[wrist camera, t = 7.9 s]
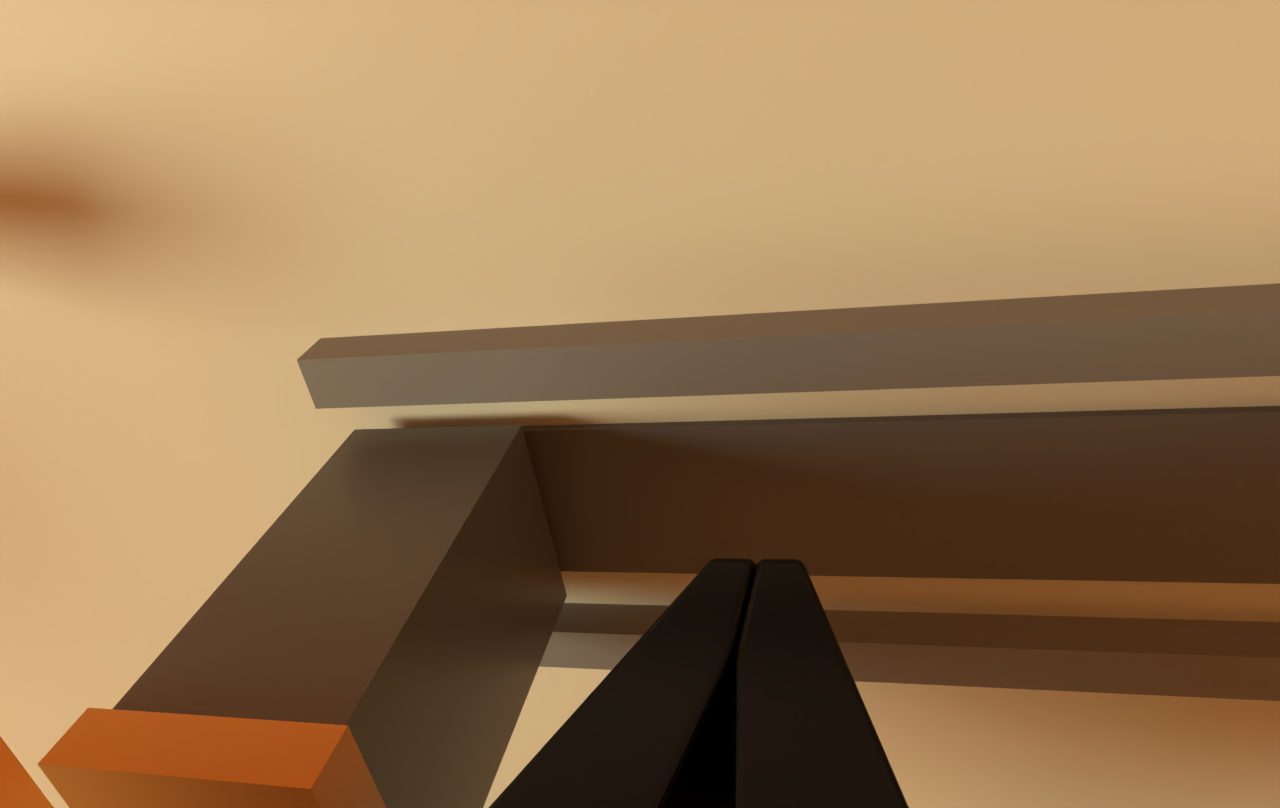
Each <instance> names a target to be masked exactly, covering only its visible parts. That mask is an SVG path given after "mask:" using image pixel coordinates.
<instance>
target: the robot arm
mask: <svg viewBox="0 0 1280 808" xmlns="http://www.w3.org/2000/svg"><path fill="white" fill-rule="evenodd" d="M489 808H909V807H908V804H907V802H906V800H905V797H904V795H903V793H902V790H901V788H900V786H899V783H898V781H897V779H896V776H895V774H894V772H893V769H892V767H891V765H890V763H889V760H888V758H887V756H886V753H885V751H884V749H883V746H882V744H881V742H880V739H879V737H878V735H877V732H876V730H875V728H874V725H873V723H872V721H871V718H870V716H869V714H868V711H867V709H866V707H865V704H864V702H863V700H862V697H861V695H860V693H859V690H858V688H857V686H856V683H855V681H854V679H853V676H852V674H851V672H850V669H849V667H848V665H847V662H846V660H845V658H844V655H843V653H842V651H841V648H840V646H839V644H838V641H837V639H836V637H835V634H834V632H833V630H832V627H831V625H830V623H829V620H828V618H827V616H826V614H825V611H824V609H823V607H822V604H821V602H820V600H819V597H818V595H817V593H816V590H815V588H814V586H813V583H812V581H811V579H810V576H809V574H808V572H807V569H806V567H805V565H804V564H803V563H802V562H801V561H800V560H797V559H762V560H761V561H759V562H758V564H757V565H756V563H755V562H754V561H753V560H751V559H734V558H717V559H713V560H711V561H710V562H708V563H707V564H706V565H705V567H704V568H703V569H702V570H701V571H700V572H699V573H698V574H697V575H696V577H695V578H694V579H693V580H692V581H691V582H690V583H689V584H688V585H687V587H686V588H685V589H684V590H683V591H682V592H681V593H680V594H679V596H678V597H677V598H676V599H675V600H674V601H673V602H672V603H671V604H670V606H669V607H668V608H667V609H666V610H665V611H664V612H663V613H662V615H661V616H660V617H659V618H658V619H657V620H656V621H655V622H654V623H653V625H652V626H651V627H650V628H649V629H648V630H647V631H646V632H645V634H644V635H643V636H642V637H641V638H640V639H639V640H638V641H637V642H636V644H635V645H634V646H633V647H632V648H631V649H630V650H629V651H628V652H627V654H626V655H625V656H624V657H623V658H622V659H621V660H620V661H619V663H618V664H617V665H616V666H615V667H614V668H613V669H612V670H611V671H610V673H609V674H608V675H607V676H606V677H605V678H604V679H603V680H602V682H601V683H600V684H599V685H598V686H597V687H596V688H595V689H594V690H593V692H592V693H591V694H590V695H589V696H588V697H587V698H586V699H585V701H584V702H583V703H582V704H581V705H580V706H579V707H578V708H577V709H576V711H575V712H574V713H573V714H572V715H571V716H570V717H569V718H568V719H567V721H566V722H565V723H564V724H563V725H562V726H561V727H560V728H559V730H558V731H557V732H556V733H555V734H554V735H553V736H552V737H551V738H550V740H549V741H548V742H547V743H546V744H545V745H544V746H543V747H542V749H541V750H540V751H539V752H538V753H537V754H536V755H535V756H534V757H533V759H532V760H531V761H530V762H529V763H528V764H527V765H526V766H525V768H524V769H523V770H522V771H521V772H520V773H519V774H518V775H517V776H516V778H515V779H514V780H513V781H512V782H511V783H510V784H509V785H508V787H507V788H506V789H505V790H504V791H503V792H502V793H501V794H500V795H499V797H498V798H497V799H496V800H495V801H494V802H493V803H492V804H491V805H490V807H489Z"/></svg>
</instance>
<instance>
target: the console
mask: <svg viewBox="0 0 1280 808" xmlns="http://www.w3.org/2000/svg"><path fill="white" fill-rule="evenodd" d="M500 425H522V428H523V432H524V435H525V439H526V443H527V447H528V450H529V454H530V458H531V462H532V466H533V469H534V473H535V477H536V481H537V484H538V488H539V492H540V496H541V499H542V503H543V507H544V511H545V515H546V518H547V522H548V526H549V530H550V533H551V537H552V541H553V545H554V549H555V552H556V556H557V560H558V564H559V567H560V571H561V575H562V579H563V582H564V586H565V590H566V594H567V597H566V599H565V602H564V604H563V607H562V609H561V612H560V614H559V617H558V620H557V622H556V625H555V627H554V630H553V632H552V635H551V637H550V640H549V642H548V645H547V647H546V650H545V652H544V655H543V657H542V660H541V663H540V665H539V668H538V670H537V673H536V675H535V678H534V680H533V683H532V685H531V688H530V690H529V693H528V695H527V698H526V700H525V703H524V705H523V708H522V711H521V713H520V716H519V718H518V721H517V723H516V726H515V728H514V731H513V733H512V736H511V738H510V741H509V743H508V746H507V748H506V751H505V754H504V756H503V759H502V761H501V764H500V766H499V769H498V771H497V774H496V776H495V779H494V781H493V784H492V786H491V789H490V791H489V794H488V796H487V799H486V802H485V804H484V807H483V808H489V807H490V805H491V804H492V803H493V802H494V801H495V800H496V799H497V798H498V797H499V795H500V794H501V793H502V792H503V791H504V790H505V789H506V788H507V787H508V785H509V784H510V783H511V782H512V781H513V780H514V779H515V778H516V776H517V775H518V774H519V773H520V772H521V771H522V770H523V769H524V768H525V766H526V765H527V764H528V763H529V762H530V761H531V760H532V759H533V757H534V756H535V755H536V754H537V753H538V752H539V751H540V750H541V749H542V747H543V746H544V745H545V744H546V743H547V742H548V741H549V740H550V738H551V737H552V736H553V735H554V734H555V733H556V732H557V731H558V730H559V728H560V727H561V726H562V725H563V724H564V723H565V722H566V721H567V719H568V718H569V717H570V716H571V715H572V714H573V713H574V712H575V711H576V709H577V708H578V707H579V706H580V705H581V704H582V703H583V702H584V701H585V699H586V698H587V697H588V696H589V695H590V694H591V693H592V692H593V690H594V689H595V688H596V687H597V686H598V685H599V684H600V683H601V682H602V680H603V679H604V678H605V677H606V676H607V675H608V674H609V673H610V671H611V670H612V669H613V668H614V667H615V666H616V665H617V664H618V663H619V661H620V660H621V659H622V658H623V657H624V656H625V655H626V654H627V652H628V651H629V650H630V649H631V648H632V647H633V646H634V645H635V644H636V642H637V641H638V640H639V639H640V638H641V637H642V636H643V635H644V634H645V632H646V631H647V630H648V629H649V628H650V627H651V626H652V625H653V623H654V622H655V621H656V620H657V619H658V618H659V617H660V616H661V615H662V613H663V612H664V611H665V610H666V609H667V608H668V607H669V606H670V604H671V603H672V602H673V601H674V600H675V599H676V598H677V597H678V596H679V594H680V593H681V592H682V591H683V590H684V589H685V588H686V587H687V585H688V584H689V583H690V582H691V581H692V580H693V579H694V578H695V577H696V575H697V574H698V573H699V572H700V571H701V570H702V569H703V568H704V567H705V565H706V564H707V563H708V562H710V561H711V560H713V559H717V558H734V559H751V560H753V561H754V562H755V563H756V565H757V564H758V562H759V561H761V560H762V559H797V560H800V561H801V562H802V563H803V564H804V565H805V567H806V569H807V572H808V574H809V576H810V579H811V581H812V583H813V586H814V588H815V590H816V593H817V595H818V597H819V600H820V602H821V604H822V607H823V609H824V611H825V614H826V616H827V618H828V620H829V623H830V625H831V627H832V630H833V632H834V634H835V637H836V639H837V641H838V644H839V646H840V648H841V651H842V653H843V655H844V658H845V660H846V662H847V665H848V667H849V669H850V672H851V674H852V676H853V679H854V681H855V683H856V686H857V688H858V690H859V693H860V695H861V697H862V700H863V702H864V704H865V707H866V709H867V711H868V714H869V716H870V718H871V721H872V723H873V725H874V728H875V730H876V732H877V735H878V737H879V739H880V742H881V744H882V746H883V749H884V751H885V753H886V756H887V758H888V760H889V763H890V765H891V767H892V769H893V772H894V774H895V776H896V779H897V781H898V783H899V786H900V788H901V790H902V793H903V795H904V797H905V800H906V802H907V804H908V807H909V808H1280V0H0V736H1V737H2V739H3V740H4V742H5V743H6V744H7V746H8V747H9V748H10V750H11V751H12V752H13V754H14V755H15V756H16V758H17V759H18V760H19V762H20V763H21V764H22V766H23V767H24V768H25V770H26V771H27V772H28V774H29V775H30V776H31V778H32V779H33V780H34V782H35V783H36V784H37V786H38V787H39V788H40V790H41V791H42V792H43V794H44V795H45V796H46V798H47V799H48V800H49V802H50V803H51V804H52V806H53V807H54V808H69V807H68V805H67V804H66V803H65V801H64V800H63V798H62V797H61V796H60V794H59V793H58V792H57V790H56V789H55V788H54V786H53V785H52V783H51V782H50V781H49V779H48V778H47V777H46V775H45V774H44V773H43V771H42V770H41V769H40V767H39V766H38V763H39V762H40V761H41V759H42V758H43V757H44V756H45V755H46V754H47V753H48V752H49V751H50V749H51V748H52V747H53V746H54V745H55V744H56V743H57V742H58V741H59V739H60V738H61V737H62V736H63V735H64V734H65V733H66V732H67V730H68V729H69V728H70V727H71V726H72V725H73V724H74V723H75V722H76V720H77V719H78V718H79V717H80V716H81V715H82V714H83V713H84V712H85V710H86V709H87V708H102V709H113V708H114V706H115V705H116V704H117V703H118V702H119V701H120V700H121V698H122V697H123V696H124V695H125V694H126V693H127V691H128V690H129V689H130V688H131V687H132V686H133V685H134V683H135V682H136V681H137V680H138V679H139V678H140V676H141V675H142V674H143V673H144V672H145V671H146V670H147V668H148V667H149V666H150V665H151V664H152V663H153V661H154V660H155V659H156V658H157V657H158V656H159V655H160V653H161V652H162V651H163V650H164V649H165V648H166V647H167V645H168V644H169V643H170V642H171V641H172V640H173V638H174V637H175V636H176V635H177V634H178V633H179V632H180V630H181V629H182V628H183V627H184V626H185V625H186V623H187V622H188V621H189V620H190V619H191V618H192V617H193V615H194V614H195V613H196V612H197V611H198V610H199V608H200V607H201V606H202V605H203V604H204V603H205V602H206V600H207V599H208V598H209V597H210V596H211V595H212V593H213V592H214V591H215V590H216V589H217V588H218V587H219V585H220V584H221V583H222V582H223V581H224V580H225V578H226V577H227V576H228V575H229V574H230V573H231V572H232V570H233V569H234V568H235V567H236V566H237V565H238V563H239V562H240V561H241V560H242V559H243V558H244V557H245V555H246V554H247V553H248V552H249V551H250V550H251V548H252V547H253V546H254V545H255V544H256V543H257V542H258V540H259V539H260V538H261V537H262V536H263V535H264V533H265V532H266V531H267V530H268V529H269V528H270V527H271V525H272V524H273V523H274V522H275V521H276V520H277V518H278V517H279V516H280V515H281V514H282V513H283V512H284V510H285V509H286V508H287V507H288V506H289V505H290V503H291V502H292V501H293V500H294V499H295V498H296V497H297V495H298V494H299V493H300V492H301V491H302V490H303V488H304V487H305V486H306V485H307V484H308V483H309V482H310V480H311V479H312V478H313V477H314V476H315V475H316V473H317V472H318V471H319V470H320V469H321V468H322V467H323V465H324V464H325V463H326V462H327V461H328V460H329V458H330V457H331V456H332V455H333V454H334V453H335V452H336V450H337V449H338V448H339V447H340V446H341V445H342V443H343V442H344V441H345V440H346V439H347V438H348V437H349V435H350V434H351V433H352V432H353V431H354V430H355V429H390V428H427V427H464V426H500Z"/></svg>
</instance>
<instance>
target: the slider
mask: <svg viewBox="0 0 1280 808" xmlns="http://www.w3.org/2000/svg"><path fill="white" fill-rule="evenodd" d="M566 597H567V594H566V590H565V586H564V582H563V579H562V575H561V571H560V567H559V564H558V560H557V556H556V552H555V549H554V545H553V541H552V537H551V533H550V530H549V526H548V522H547V518H546V515H545V511H544V507H543V503H542V499H541V496H540V492H539V488H538V484H537V481H536V477H535V473H534V469H533V466H532V462H531V458H530V454H529V450H528V447H527V443H526V439H525V435H524V432H523V428H522V425H500V426H464V427H427V428H390V429H355V430H354V431H353V432H352V433H351V434H350V435H349V437H348V438H347V439H346V440H345V441H344V442H343V443H342V445H341V446H340V447H339V448H338V449H337V450H336V452H335V453H334V454H333V455H332V456H331V457H330V458H329V460H328V461H327V462H326V463H325V464H324V465H323V467H322V468H321V469H320V470H319V471H318V472H317V473H316V475H315V476H314V477H313V478H312V479H311V480H310V482H309V483H308V484H307V485H306V486H305V487H304V488H303V490H302V491H301V492H300V493H299V494H298V495H297V497H296V498H295V499H294V500H293V501H292V502H291V503H290V505H289V506H288V507H287V508H286V509H285V510H284V512H283V513H282V514H281V515H280V516H279V517H278V518H277V520H276V521H275V522H274V523H273V524H272V525H271V527H270V528H269V529H268V530H267V531H266V532H265V533H264V535H263V536H262V537H261V538H260V539H259V540H258V542H257V543H256V544H255V545H254V546H253V547H252V548H251V550H250V551H249V552H248V553H247V554H246V555H245V557H244V558H243V559H242V560H241V561H240V562H239V563H238V565H237V566H236V567H235V568H234V569H233V570H232V572H231V573H230V574H229V575H228V576H227V577H226V578H225V580H224V581H223V582H222V583H221V584H220V585H219V587H218V588H217V589H216V590H215V591H214V592H213V593H212V595H211V596H210V597H209V598H208V599H207V600H206V602H205V603H204V604H203V605H202V606H201V607H200V608H199V610H198V611H197V612H196V613H195V614H194V615H193V617H192V618H191V619H190V620H189V621H188V622H187V623H186V625H185V626H184V627H183V628H182V629H181V630H180V632H179V633H178V634H177V635H176V636H175V637H174V638H173V640H172V641H171V642H170V643H169V644H168V645H167V647H166V648H165V649H164V650H163V651H162V652H161V653H160V655H159V656H158V657H157V658H156V659H155V660H154V661H153V663H152V664H151V665H150V666H149V667H148V668H147V670H146V671H145V672H144V673H143V674H142V675H141V676H140V678H139V679H138V680H137V681H136V682H135V683H134V685H133V686H132V687H131V688H130V689H129V690H128V691H127V693H126V694H125V695H124V696H123V697H122V698H121V700H120V701H119V702H118V703H117V704H116V705H115V706H114V708H113V709H102V708H87V709H86V710H85V712H84V713H83V714H82V715H81V716H80V717H79V718H78V719H77V720H76V722H75V723H74V724H73V725H72V726H71V727H70V728H69V729H68V730H67V732H66V733H65V734H64V735H63V736H62V737H61V738H60V739H59V741H58V742H57V743H56V744H55V745H54V746H53V747H52V748H51V749H50V751H49V752H48V753H47V754H46V755H45V756H44V757H43V758H42V759H41V761H40V762H39V763H38V766H39V767H40V769H41V770H42V771H43V773H44V774H45V775H46V777H47V778H48V779H49V781H50V782H51V783H52V785H53V786H54V788H55V789H56V790H57V792H58V793H59V794H60V796H61V797H62V798H63V800H64V801H65V803H66V804H67V805H68V807H69V808H483V807H484V804H485V802H486V799H487V796H488V794H489V791H490V789H491V786H492V784H493V781H494V779H495V776H496V774H497V771H498V769H499V766H500V764H501V761H502V759H503V756H504V754H505V751H506V748H507V746H508V743H509V741H510V738H511V736H512V733H513V731H514V728H515V726H516V723H517V721H518V718H519V716H520V713H521V711H522V708H523V705H524V703H525V700H526V698H527V695H528V693H529V690H530V688H531V685H532V683H533V680H534V678H535V675H536V673H537V670H538V668H539V665H540V663H541V660H542V657H543V655H544V652H545V650H546V647H547V645H548V642H549V640H550V637H551V635H552V632H553V630H554V627H555V625H556V622H557V620H558V617H559V614H560V612H561V609H562V607H563V604H564V602H565V599H566Z"/></svg>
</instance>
